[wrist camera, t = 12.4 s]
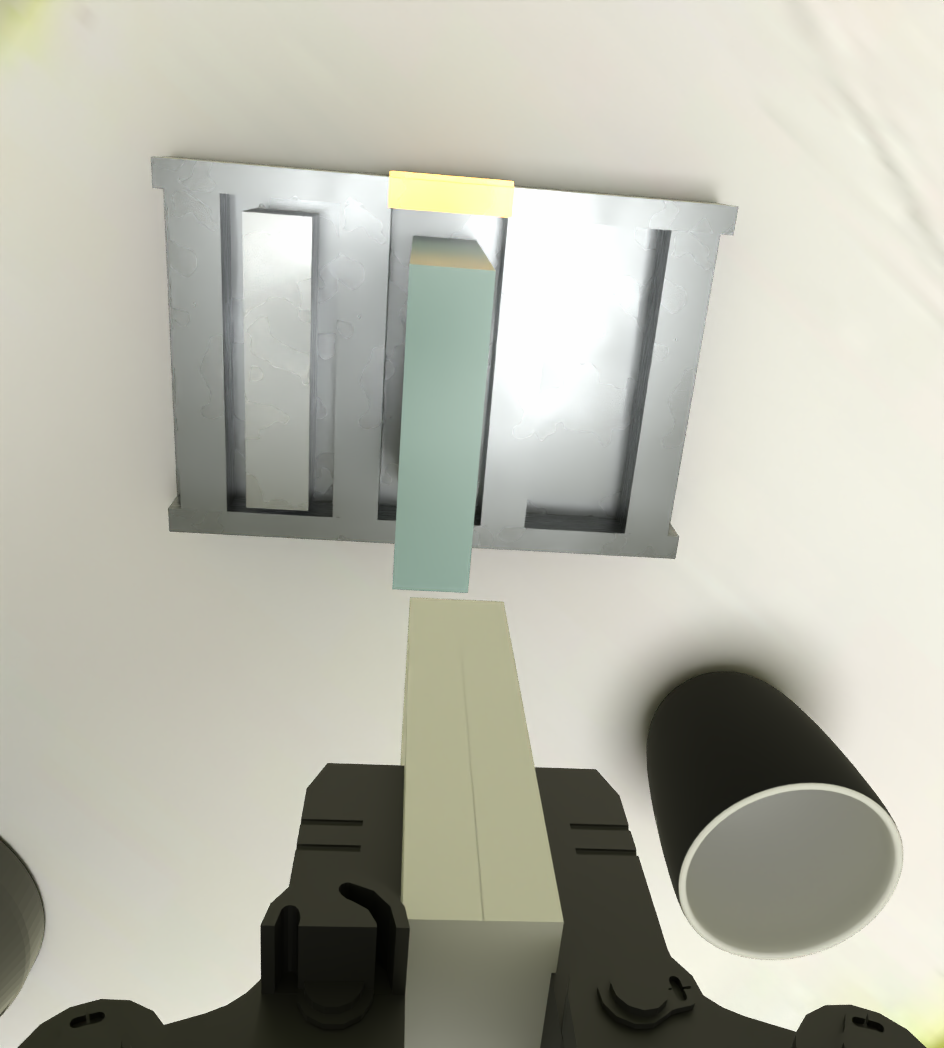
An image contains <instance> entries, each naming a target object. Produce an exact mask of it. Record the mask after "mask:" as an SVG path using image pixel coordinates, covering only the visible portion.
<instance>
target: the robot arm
mask: <svg viewBox="0 0 944 1048" xmlns="http://www.w3.org/2000/svg"><path fill="white" fill-rule="evenodd" d="M628 826H629V825H628V822H627V819H626V815H625V812H624V809H623V806H622V803H621V799H620V796H619V795H618V793H617V792H616V791H615V790H614V789H613V788H612V787H611V786H610V785H609V783H608V782H607V781H606V780H605V779H604V778H603V777H602V776H601V775H600V773H599V772H598V771H597V770H596V769H569V768H539V767H534V761H533V756H532V751H531V745H530V740H529V735H528V730H527V724H526V719H525V714H524V708H523V703H522V698H521V692H520V687H519V682H518V676H517V671H516V666H515V660H514V655H513V650H512V644H511V639H510V634H509V628H508V623H507V618H506V613H505V607H504V602H497V601H476V600H455V599H434V598H413V597H410V608H409V625H408V641H407V658H406V674H405V691H404V708H403V724H402V741H401V766H398V765H367V764H337V763H327V765H326V766H325V767H324V768H323V770H322V771H321V772H320V773H319V774H318V776H317V777H316V778H315V779H314V780H313V782H312V783H311V784H310V785H309V787H308V788H307V790H306V796H305V801H304V807H303V812H302V818H301V825H300V829H299V835H298V840H297V849H296V851H295V857H294V862H293V868H292V873H291V879H290V884H289V887H288V888H287V889H286V890H285V891H284V892H283V893H282V894H281V895H280V896H279V897H277V898H276V899H275V900H274V901H273V902H272V903H271V904H270V906H269V908H268V910H267V913H266V915H265V917H264V919H263V921H262V923H261V980H260V981H259V982H258V983H256V984H255V985H254V986H253V987H252V988H251V989H250V990H249V991H248V992H247V993H246V994H244V995H242V996H241V997H239V998H238V999H236V1000H234V1001H233V1002H231V1003H230V1004H228V1005H226V1006H223V1007H221V1008H218V1009H216V1010H213V1011H210V1012H208V1013H205V1014H202V1015H198V1016H195V1017H191V1018H187V1019H184V1020H180V1021H177V1022H173V1023H170V1024H166V1025H163V1023H162V1022H161V1021H160V1019H159V1018H158V1017H157V1015H156V1014H155V1013H154V1011H152V1010H150V1009H147V1008H145V1007H143V1006H141V1005H139V1004H137V1003H135V1002H132V1001H130V1000H110V999H100V1000H96V1001H92V1002H88V1003H85V1004H81V1005H77V1006H73V1007H70V1008H68V1009H66V1010H65V1011H63V1012H61V1013H59V1014H58V1015H56V1016H54V1017H52V1018H51V1019H49V1020H47V1021H46V1022H44V1023H42V1024H40V1025H39V1026H38V1027H37V1028H36V1029H35V1030H34V1031H33V1032H32V1033H31V1035H30V1036H29V1037H28V1038H27V1039H26V1040H25V1041H24V1042H23V1043H22V1044H21V1045H20V1046H19V1047H18V1048H926V1047H925V1046H924V1045H923V1044H922V1043H921V1042H920V1041H919V1040H918V1039H917V1038H915V1037H914V1036H913V1035H912V1034H911V1033H910V1032H909V1031H908V1030H907V1029H905V1028H904V1027H902V1026H900V1025H898V1024H897V1023H895V1022H893V1021H892V1020H890V1019H888V1018H887V1017H885V1016H883V1015H881V1014H880V1013H877V1012H874V1011H870V1010H867V1009H863V1008H860V1007H857V1006H853V1005H825V1006H823V1007H821V1008H819V1009H817V1010H815V1011H813V1012H811V1013H809V1014H807V1015H806V1016H805V1018H804V1019H803V1021H802V1023H801V1025H800V1027H799V1028H798V1030H797V1032H795V1031H791V1030H788V1029H785V1028H781V1027H778V1026H775V1025H771V1024H768V1023H765V1022H762V1021H758V1020H755V1019H752V1018H748V1017H745V1016H742V1015H740V1014H737V1013H735V1012H732V1011H730V1010H728V1009H725V1008H723V1007H721V1006H719V1005H718V1004H716V1003H715V1002H713V1001H711V1000H710V999H708V998H706V997H705V996H703V994H702V992H701V991H700V989H699V987H698V985H697V983H696V982H695V980H694V978H693V976H692V975H691V974H689V973H688V972H687V971H686V970H685V969H684V968H683V967H682V966H681V965H680V964H679V963H677V962H676V961H675V960H674V959H673V958H671V956H670V954H669V951H668V949H667V946H666V943H665V940H664V937H663V934H662V930H661V927H660V924H659V921H658V918H657V914H656V911H655V908H654V905H653V902H652V898H651V895H650V892H649V889H648V886H647V882H646V879H645V876H644V873H643V870H642V866H641V863H640V860H639V857H638V856H636V847H635V844H634V841H633V838H632V835H631V831H629V830H628ZM43 935H44V912H43V906H42V902H41V899H40V895H39V893H38V890H37V888H36V886H35V883H34V881H33V879H32V878H31V876H30V874H29V873H28V871H27V870H26V868H25V867H24V865H23V864H22V863H21V861H20V860H19V859H18V858H17V856H16V855H15V854H14V853H13V852H12V851H11V850H10V849H9V848H8V847H7V846H6V845H5V844H4V843H3V842H2V841H1V840H0V1017H1V1016H2V1015H3V1013H4V1012H5V1011H6V1010H7V1009H8V1008H9V1006H10V1005H11V1004H12V1002H13V1001H14V1000H15V998H16V997H17V995H18V993H19V992H20V990H21V988H22V986H23V984H24V982H25V980H26V978H27V976H28V974H29V972H30V970H31V968H32V966H33V964H34V962H35V960H36V958H37V956H38V953H39V951H40V948H41V945H42V941H43Z"/></svg>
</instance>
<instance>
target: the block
mask: <svg viewBox="0 0 944 1048" xmlns="http://www.w3.org/2000/svg"><path fill="white" fill-rule="evenodd" d="M495 274H496V270H495V269H494V267H493V266H492V264H491V262H490V261H489V259H488V258H487V256H486V255H485V253H484V251H483V250H482V248H481V247H480V245H479V244H478V242H477V240H464V239H452V238H439V237H427V236H413V243H412V250H411V257H410V264H409V283H408V302H407V321H406V340H405V360H404V379H403V398H402V417H401V436H400V455H399V474H398V493H397V512H396V531H395V551H394V570H393V589H400V590H420V591H440V592H460V593H468V584H469V573H470V561H471V550H472V538H473V527H474V515H475V504H476V492H477V481H478V469H479V458H480V447H481V435H482V424H483V412H484V401H485V389H486V378H487V366H488V355H489V343H490V332H491V320H492V309H493V297H494V286H495Z"/></svg>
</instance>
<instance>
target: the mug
mask: <svg viewBox="0 0 944 1048" xmlns="http://www.w3.org/2000/svg"><path fill="white" fill-rule="evenodd" d="M647 770H648V779H649V787H650V793H651V800H652V805H653V811H654V816H655V820H656V825H657V829H658V834H659V838H660V842H661V846H662V850H663V854H664V857H665V861H666V865H667V868H668V872H669V875H670V878H671V882H672V885H673V888H674V891H675V894H676V897H677V899H678V902H679V904H680V906H681V909H682V911H683V913H684V915H685V917H686V918H687V920H688V922H689V923H690V925H691V926H692V927H693V929H694V930H695V931H696V932H697V933H698V934H699V935H700V936H701V937H702V938H704V939H705V940H706V941H707V942H709V943H711V944H712V945H714V946H715V947H717V948H719V949H721V950H724V951H726V952H729V953H731V954H734V955H738V956H741V957H746V958H751V959H760V960H784V959H793V958H798V957H803V956H807V955H811V954H815V953H817V952H820V951H823V950H826V949H828V948H831V947H833V946H835V945H837V944H839V943H841V942H843V941H845V940H846V939H848V938H850V937H852V936H853V935H854V934H856V933H857V932H859V931H860V930H861V929H863V928H864V927H865V926H866V925H868V924H869V923H870V922H871V921H872V920H873V919H874V918H875V917H876V916H877V915H878V914H879V912H880V911H881V910H882V909H883V908H884V906H885V905H886V904H887V902H888V901H889V899H890V897H891V896H892V894H893V892H894V890H895V888H896V886H897V883H898V881H899V878H900V874H901V870H902V864H903V846H902V841H901V837H900V834H899V831H898V829H897V827H896V824H895V822H894V820H893V819H892V817H891V815H890V814H889V812H888V811H887V809H886V807H885V806H884V804H883V803H882V802H881V800H880V799H879V797H878V796H877V795H876V793H875V792H874V791H873V789H872V788H871V787H870V786H869V784H868V783H867V782H866V781H865V779H864V778H863V777H862V776H861V774H860V773H859V772H858V771H857V769H856V768H855V767H854V766H853V764H852V763H851V762H850V761H849V760H848V758H847V757H846V756H845V755H844V754H843V753H842V752H841V750H840V749H839V748H838V747H837V746H836V745H835V744H834V742H833V741H832V740H831V739H830V738H829V737H828V736H827V735H826V734H825V733H824V732H823V731H822V729H821V728H820V727H819V726H818V725H817V724H816V723H815V722H814V721H813V720H812V719H811V718H810V717H809V716H807V715H806V714H805V713H804V712H803V711H802V710H801V709H800V708H799V707H798V706H797V705H796V704H795V703H794V702H792V701H791V700H790V699H789V698H787V697H786V696H785V695H784V694H782V693H781V692H780V691H778V690H777V689H776V688H774V687H772V686H771V685H769V684H767V683H766V682H764V681H762V680H759V679H757V678H754V677H751V676H749V675H745V674H741V673H735V672H714V673H708V674H704V675H700V676H697V677H695V678H692V679H690V680H688V681H686V682H684V683H683V684H681V685H680V686H678V687H677V688H676V689H674V690H673V691H672V692H671V693H670V694H669V695H668V696H667V697H666V698H665V699H664V700H663V702H662V703H661V704H660V706H659V707H658V709H657V711H656V713H655V715H654V717H653V719H652V722H651V726H650V729H649V733H648V739H647Z"/></svg>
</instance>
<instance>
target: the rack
mask: <svg viewBox="0 0 944 1048" xmlns="http://www.w3.org/2000/svg"><path fill="white" fill-rule="evenodd" d="M151 167H152V187H153V188H161V189H164V209H165V232H166V254H167V276H168V299H169V321H170V344H171V366H172V388H173V411H174V433H175V455H176V478H177V497H176V498H175V500H174V501H173V502H172V504H171V505H170V507H169V508H168V514H169V531H170V532H189V533H207V534H226V535H245V536H263V537H282V538H300V539H319V540H337V541H356V542H374V543H393V544H395V531H396V512H397V493H398V474H399V455H400V436H401V417H402V398H403V379H404V360H405V340H406V321H407V302H408V283H409V264H410V257H411V250H412V243H413V236H427V237H439V238H452V239H464V240H477V242H478V244H479V245H480V247H481V248H482V250H483V251H484V253H485V255H486V256H487V258H488V259H489V261H490V262H491V264H492V266H493V267H494V269H495V270H496V274H495V286H494V297H493V309H492V320H491V332H490V343H489V355H488V366H487V378H486V389H485V401H484V412H483V424H482V435H481V447H480V458H479V469H478V481H477V492H476V504H475V515H474V527H473V538H472V548H486V549H504V550H523V551H541V552H560V553H578V554H597V555H615V556H634V557H652V558H671V559H675V557H676V551H677V546H678V540H679V536H678V534H677V533H676V531H675V530H674V528H673V527H672V525H671V524H670V521H671V515H672V510H673V504H674V498H675V492H676V487H677V481H678V475H679V469H680V464H681V458H682V452H683V447H684V441H685V435H686V429H687V424H688V418H689V412H690V406H691V401H692V395H693V389H694V384H695V378H696V372H697V366H698V361H699V355H700V349H701V343H702V338H703V332H704V326H705V321H706V315H707V309H708V303H709V298H710V292H711V286H712V280H713V275H714V269H715V263H716V258H717V252H718V246H719V240H720V235H721V234H723V235H733V234H734V229H735V223H736V218H737V212H738V206H732V205H726V204H720V203H709V202H698V201H686V200H674V199H662V198H650V197H638V196H627V195H615V194H603V193H591V192H579V191H568V190H556V189H544V188H532V187H520V186H514V181H510V180H499V179H487V178H475V177H463V176H452V175H440V174H428V173H416V172H405V171H393V170H391V171H390V175H378V174H367V173H355V172H343V171H331V170H319V169H308V168H296V167H284V166H272V165H260V164H248V163H237V162H225V161H213V160H201V159H189V158H178V157H151Z"/></svg>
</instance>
